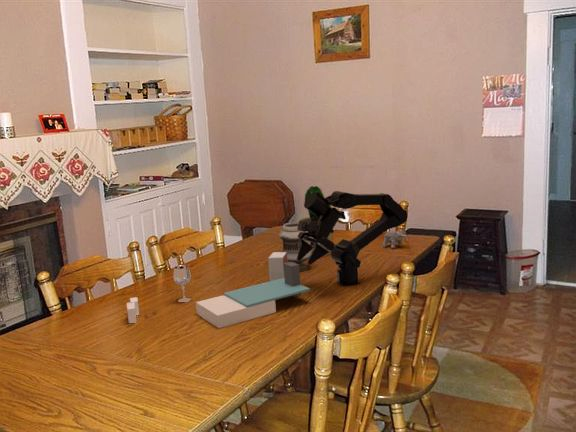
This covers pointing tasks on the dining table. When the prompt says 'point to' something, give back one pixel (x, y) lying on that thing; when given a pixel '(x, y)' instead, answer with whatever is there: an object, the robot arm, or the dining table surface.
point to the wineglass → (182, 279)
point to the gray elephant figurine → (394, 238)
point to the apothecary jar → (293, 244)
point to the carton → (231, 311)
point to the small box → (277, 265)
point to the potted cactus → (312, 216)
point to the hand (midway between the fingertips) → (303, 262)
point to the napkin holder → (132, 310)
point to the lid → (271, 288)
